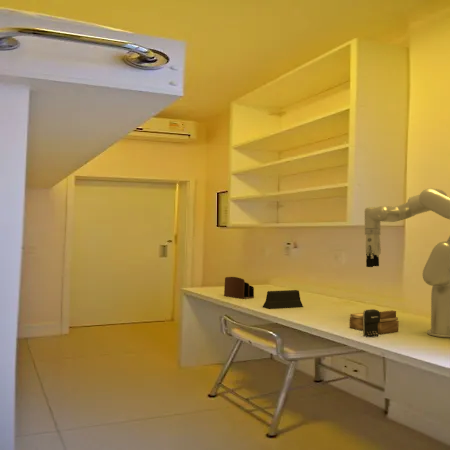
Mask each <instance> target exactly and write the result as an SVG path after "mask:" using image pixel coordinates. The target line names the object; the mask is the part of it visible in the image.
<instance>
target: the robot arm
mask: <svg viewBox="0 0 450 450" xmlns="http://www.w3.org/2000/svg"><path fill="white" fill-rule="evenodd" d="M430 211H431V212H433V213H435V214H437V215H438V216H441V217H443V218H445V219H447V220H450V197H449V196H448V195H447V193H446V192H445V191H444V190H443V189H438V188H433V187H430V188H424V189H423V190H422V191H421V192H420V193H419V194H417V195H413V196H411V197H409V198H408V199H407V202H405V203H402V204H399V205H395V206H387V205H381V206H377V207H375V206H374V207H373V206H372V207H370V206H369V207H366V208H365V209H364V236H365V255H366V256H365V263H366V264H365V266H366V267H367V268H374V267H380V256H379V255H381V250H382V249H381V248H382V247H381V238H380V237H381V222H383V223H384V222H386V223H387V222H389V223H394V222H395V223H397V222H400V221H403V220H406V219H409V218H412V217H414V216H417V215H419V214H422V213H423V214H424V213H427V212H430ZM422 279H423V281H424V282H425V284H427V285H428V286H432V288H431V296H430V299H431V300H430V308H431V309H430V329H427V332H426V334H427V335H429V336H431V337H437V338H438V337H439V338H449V339H450V235H449V236H448V238H447V240H446V241H441V242H438V243H437V244H436V245H435V246H434V247H433V248H432V250H431V252H430V254H429V256H428V259H427V260H426V263H425V265H424V267H423V269H422Z"/></svg>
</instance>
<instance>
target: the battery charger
mask: <svg viewBox="0 0 450 450" xmlns="http://www.w3.org/2000/svg"><path fill="white" fill-rule="evenodd" d="M380 312H381V311H379V310H378V309H376V308H373V309H372V308H371V309H364V310H363V312H362V313H363V331H362V335H363V337H369V338H370V337H378V336H379V333H378V322H380Z"/></svg>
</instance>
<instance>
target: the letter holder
mask: <svg viewBox="0 0 450 450" xmlns="http://www.w3.org/2000/svg"><path fill="white" fill-rule="evenodd" d="M223 288H224V291H223V295H224V297H228V298H234V299H238V300H239V299H240V300H249V299H254V298H255V287H254V286H253V285H250V284H249V282H246V281H245V279H244V278H241V277H237V276H226V277H224V287H223Z"/></svg>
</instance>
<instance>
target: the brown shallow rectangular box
mask: <svg viewBox="0 0 450 450" xmlns="http://www.w3.org/2000/svg"><path fill="white" fill-rule="evenodd" d="M399 322H400V321H399V320H395V321H387V322H378V333H379V335H388V334H393V333H394V334H395V333H399V324H400V323H399ZM349 328H350V329H353V330H357V331H362V332H363V319H359V318H354V317H350V316H349ZM379 335H378V336H379Z"/></svg>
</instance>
